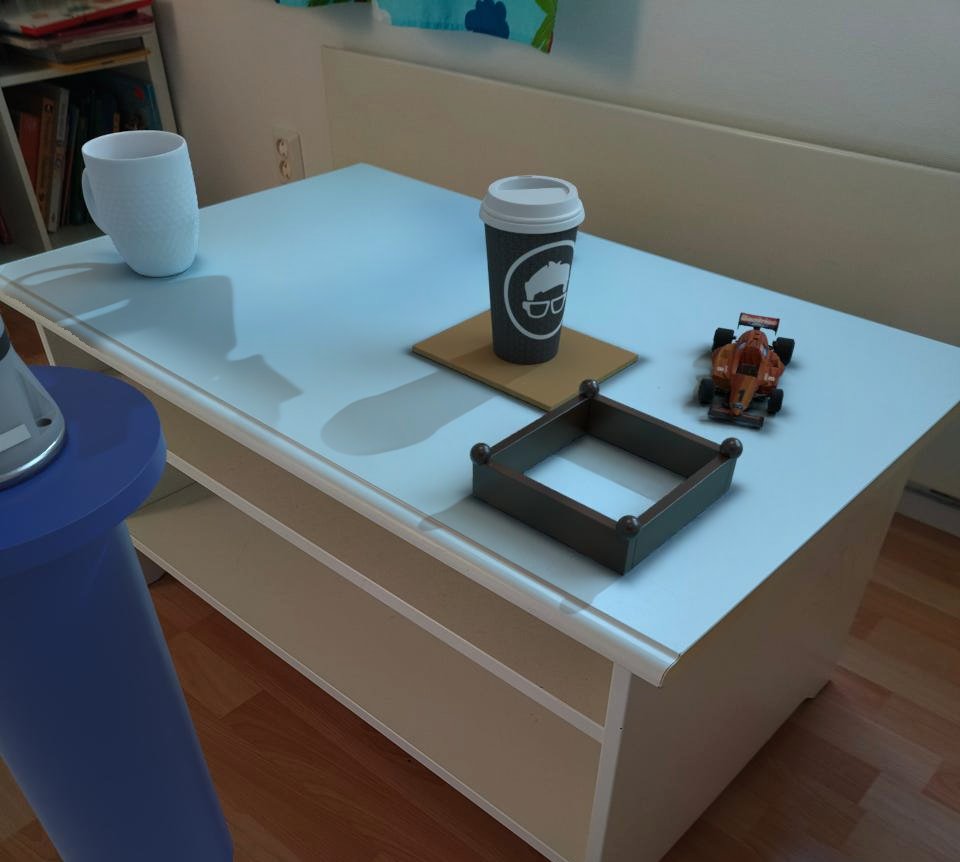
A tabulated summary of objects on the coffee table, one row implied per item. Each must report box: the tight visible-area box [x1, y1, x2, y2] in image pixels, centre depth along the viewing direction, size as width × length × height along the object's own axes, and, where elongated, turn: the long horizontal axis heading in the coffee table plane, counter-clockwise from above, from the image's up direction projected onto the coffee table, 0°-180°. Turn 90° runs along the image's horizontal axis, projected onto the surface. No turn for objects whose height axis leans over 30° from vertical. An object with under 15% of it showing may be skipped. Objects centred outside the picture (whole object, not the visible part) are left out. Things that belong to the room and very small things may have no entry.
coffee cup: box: [478, 174, 586, 365], centre depth 84 cm, size 10×10×15 cm
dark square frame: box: [469, 379, 744, 576], centre depth 71 cm, size 16×16×5 cm
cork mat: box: [411, 308, 639, 413], centre depth 89 cm, size 18×14×1 cm
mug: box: [81, 129, 200, 278], centre depth 101 cm, size 15×11×13 cm
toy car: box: [697, 312, 796, 428], centre depth 84 cm, size 8×16×4 cm, turn 162°
